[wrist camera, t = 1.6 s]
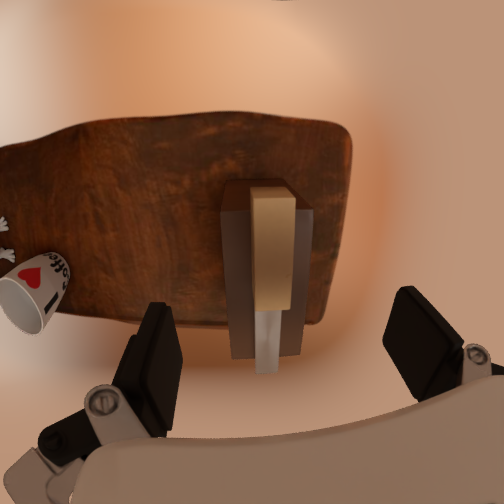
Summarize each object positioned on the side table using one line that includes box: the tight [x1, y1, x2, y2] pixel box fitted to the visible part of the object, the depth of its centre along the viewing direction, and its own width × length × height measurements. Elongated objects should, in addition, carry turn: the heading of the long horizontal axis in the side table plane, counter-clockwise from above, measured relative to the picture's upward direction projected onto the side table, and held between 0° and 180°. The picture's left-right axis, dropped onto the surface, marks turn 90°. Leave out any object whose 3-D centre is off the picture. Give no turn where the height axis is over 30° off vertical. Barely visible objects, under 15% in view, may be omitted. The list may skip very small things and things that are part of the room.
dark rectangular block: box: [220, 179, 314, 360], centre depth 25 cm, size 13×6×12 cm, turn 1°
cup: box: [0, 252, 70, 336], centre depth 26 cm, size 8×8×10 cm
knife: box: [250, 187, 296, 374], centre depth 18 cm, size 16×2×3 cm, turn 1°
